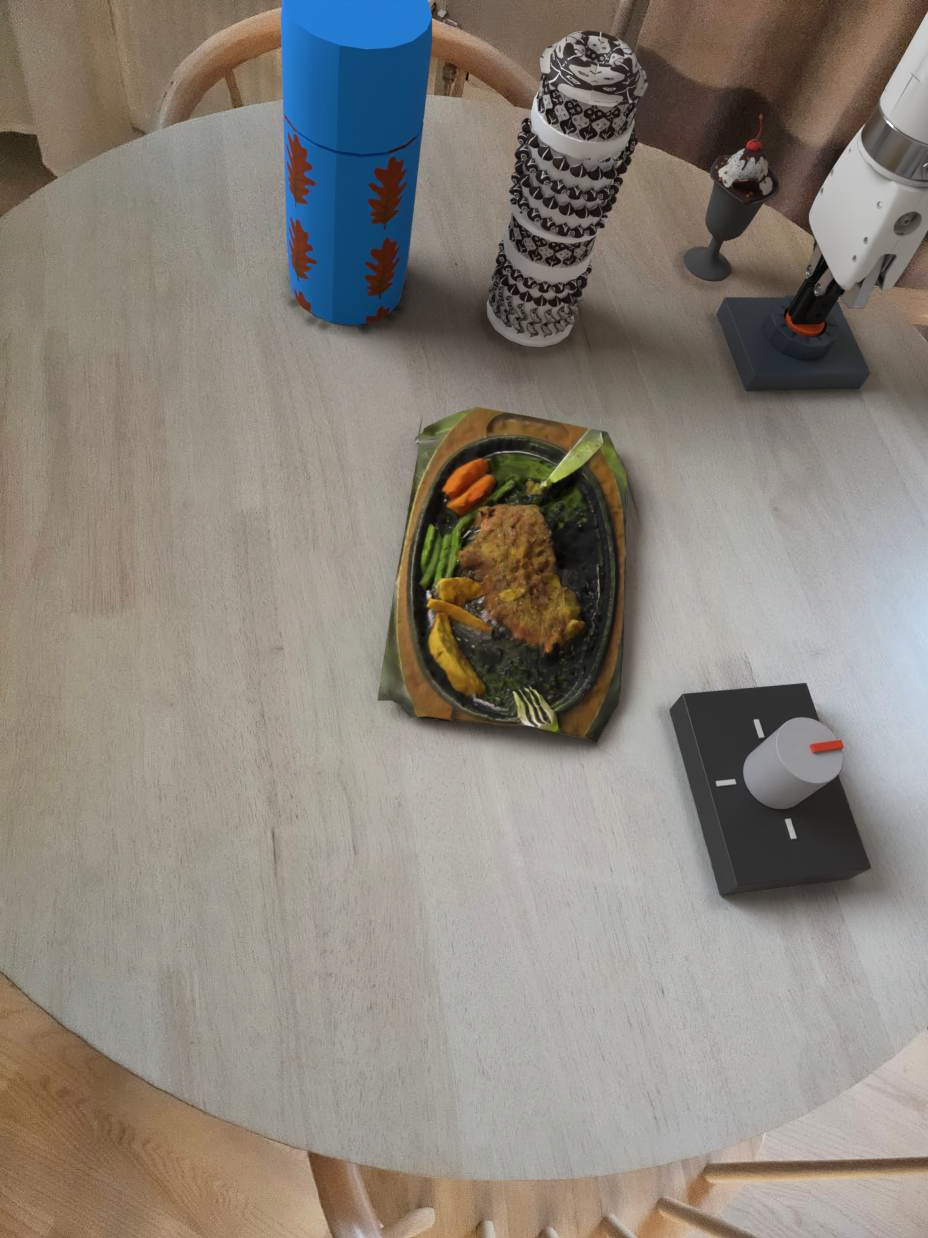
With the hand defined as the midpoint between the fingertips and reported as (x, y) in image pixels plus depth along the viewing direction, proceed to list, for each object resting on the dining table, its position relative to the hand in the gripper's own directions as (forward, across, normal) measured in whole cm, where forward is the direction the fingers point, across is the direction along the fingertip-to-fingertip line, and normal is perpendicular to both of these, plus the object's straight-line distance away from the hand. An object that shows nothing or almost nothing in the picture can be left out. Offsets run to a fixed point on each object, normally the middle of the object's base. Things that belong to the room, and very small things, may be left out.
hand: (803, 317), depth 89 cm
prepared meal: (+4, -23, +32) cm, 40 cm away
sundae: (+4, +12, +5) cm, 14 cm away
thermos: (+5, +9, +42) cm, 43 cm away
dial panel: (+4, -43, +17) cm, 46 cm away
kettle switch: (+2, 0, 0) cm, 2 cm away
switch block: (+4, 0, 0) cm, 4 cm away
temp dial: (+1, -43, +17) cm, 46 cm away
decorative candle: (+4, +5, +25) cm, 26 cm away
